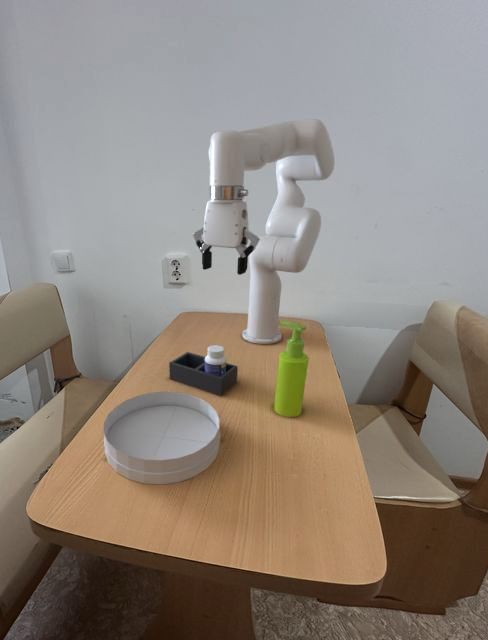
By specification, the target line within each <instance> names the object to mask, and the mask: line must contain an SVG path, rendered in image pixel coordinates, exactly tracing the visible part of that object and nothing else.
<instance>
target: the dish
mask: <svg viewBox="0 0 488 640" xmlns="http://www.w3.org/2000/svg"><path fill="white" fill-rule="evenodd" d="M220 442H221V430H220V417H219V416H218V412H217V411H216V409H214V407H213V406H212V405H211V404H210V403H209V402H207V401H206V400H204V399H203V398H200V397H198V396H195V395H192V394H189V393H184V392H179V391H156V392H155V391H154V392H153V391H152V392H147V393H144V394H143V393H142V394H138V395H136V396H133V397H131V398H128V399H125V400H124V401H122V402H120V404H118V405H115V407H114V408H113V409H112V410H111V411H110V412H109V413H108V414H107V416H106V418H105V420H104V421H103V447H104V455H105V458H106V460H107V463H108V465H109V466H110V467H111V468H112V469H113V470H114V471H115V472H116V474H118V475H121V476H122V477H124V478H126V479H128V480H130V481H133V482H137V483H140V484H145V485H161V486H162V485H169V484H175V483H180V482H181V483H182V482H184V481H187V480H190V479H192V478H195V477H196V476H198V475H199V474H202V472H204V471H206V470H207V469H208V468H209V467H210V466H211V465H212V464H213V463H214V462H215V461H216V458H217V456H218V454H219V453H220V445H221V443H220Z"/></svg>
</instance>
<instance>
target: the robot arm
mask: <svg viewBox="0 0 488 640" xmlns="http://www.w3.org/2000/svg"><path fill="white" fill-rule="evenodd" d="M208 160H209V201H207V202H206V205H205V211H204V212H205V213H204V218H203V219H204V220H203V227H202V228H200V229H198V230H196V231H194V232H193V233H192V235H193V239H194V241H195V245H196V246H197V248H198V249H199V252H200V253H201V265H202V270H204V271H206V270H208V269H210V268H212V264H213V263H212V262H213V252H212V251H211V249H212V248H213V247H215V248H216V247H217V248H225V249H235V250H236V252H237V253H238V255H239V257H238V258H237V268H236V270H237V271H236V272H237V275H239V276H240V275H243V274H245V273H246V272H247V270H248V265H249V268H250V269H249V273H250V274H249V276H250V278H249V295H248V310H247V326H246V327H247V328H246V329H244V330H243V331H242V333H241V336H242V339H244V340H245V341H247V342H250V343H252V344H258V345H271V344H275V343H278V342H281V340H282V336H283V335H282V333H281V331H279V330H278V327H279V323H281V319H279V315H280V305H281V294H282V280H281V278H280V275H279V273H278V272H285V273H293V274H294V273H295V274H298V273H301V272H303V271H304V270H305V269H306V267H307V265H308V264H309V261H310V258H311V256H312V254H313V253H312V252H313V251H314V248H315V246H316V244H317V240H318V238H319V235H320V232H321V228H322V227H321V226H322V216H321V213H320V212H319V210H318V209H316V208H312V207H304V205H305V203H306V197H305V195H304V192H303V191H302V189H301V187H300V186H299V185H298V184H297V181H298V182H299V181H300V182H301V181H306V182H307V181H312V182H313V181H319V182H320V181H325V180H327V179H328V178H330V176H332V174H333V172H334V169H335V163H336V162H335V152H334V149H333V146H332V141H331V137H330V134H329V131H328V129H327V126H326V125H325V123H324V122H323V121H322V120H320V119H318V118H309V119H302V120H301V119H300V120H288V121H282V122H278V123H274V124H268V125H264V126H258V127H254V128H250V129H245V130H240V131H237V130H219V131H216V132H214V133H213V134H211V136H210V142H209V147H208ZM275 162H276V164H275V175H276V176H275V177H276V179H275V180H276V187H277V197H276V199H275V202H274V204H273V206H272V208H271V211H270V212H269V215H268V218H267V221H266V222H265V228H264V229H265V233H266V235H261V236H258V235H256V234H255V233H253V232H252V231H251V230H249V229H250V228H249V227H250V225H249V210H248V204H247V201H244V199H245V197H248V196H249V190H248V189H245V185H244V183H245V172H247V171H248V172H249V171H258V170H260V169H262V168H264V167H265V166H266V165H267V164H272V163H275ZM202 237H203V238H202ZM249 241H250V243H249ZM247 245H248V246H247ZM248 262H249V263H248Z"/></svg>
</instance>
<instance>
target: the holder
mask: <svg viewBox="0 0 488 640" xmlns="http://www.w3.org/2000/svg"><path fill="white" fill-rule="evenodd" d="M205 357H206V356H203V355H199V354H197V353H193V352H189V351H187V352H184V353H183V354H181V355H180V356H178V357H176V358H175V359H174V360H172V361H170V362H169V363H168V364H169V365H168V367H169V368H168V369H169V379H170V380H172V381H175V382H178V383H181V384H184V385H187V386H189V387H193V388H196V389H198V390H201V391H204V392H207V393H209V394H213V395H216V396H219V397H222V396H223V395H224V394H225V393H227V391H229V390H230V389H231V388H232V387H233V386H235V384H237V383H238V370H239V369H238V367H239V366H238V365H235V364H231V363H227V362H226V373H225V374H223V375H222V376H221V377H219V376H215V375H212V374H209V373H206V372H205Z"/></svg>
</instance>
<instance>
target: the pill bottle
mask: <svg viewBox="0 0 488 640" xmlns="http://www.w3.org/2000/svg"><path fill="white" fill-rule="evenodd" d="M206 352H207V355H205V356H204V357H205V372H206V373H209V374H212V375H215V376H219V377H221V376H222V375H223V374H225V373H226V363H227V357H226V356H225V348H224V347H223V346H222V345H215V344H214V345H210V346H208V347H207V351H206Z"/></svg>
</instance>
